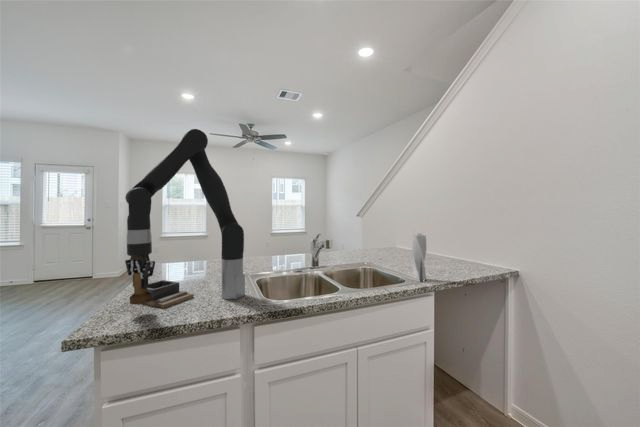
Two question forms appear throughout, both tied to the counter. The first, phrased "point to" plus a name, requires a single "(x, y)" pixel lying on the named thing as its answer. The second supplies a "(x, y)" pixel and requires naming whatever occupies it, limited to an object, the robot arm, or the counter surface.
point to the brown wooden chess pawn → (139, 290)
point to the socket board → (166, 294)
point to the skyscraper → (419, 256)
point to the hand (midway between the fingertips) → (140, 287)
